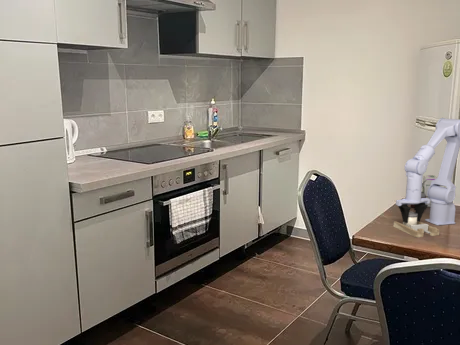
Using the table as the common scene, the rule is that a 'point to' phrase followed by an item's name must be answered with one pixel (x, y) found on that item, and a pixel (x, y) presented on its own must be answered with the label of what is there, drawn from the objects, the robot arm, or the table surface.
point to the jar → (411, 219)
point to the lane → (418, 233)
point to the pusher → (421, 227)
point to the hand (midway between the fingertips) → (411, 221)
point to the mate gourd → (421, 196)
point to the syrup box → (427, 185)
